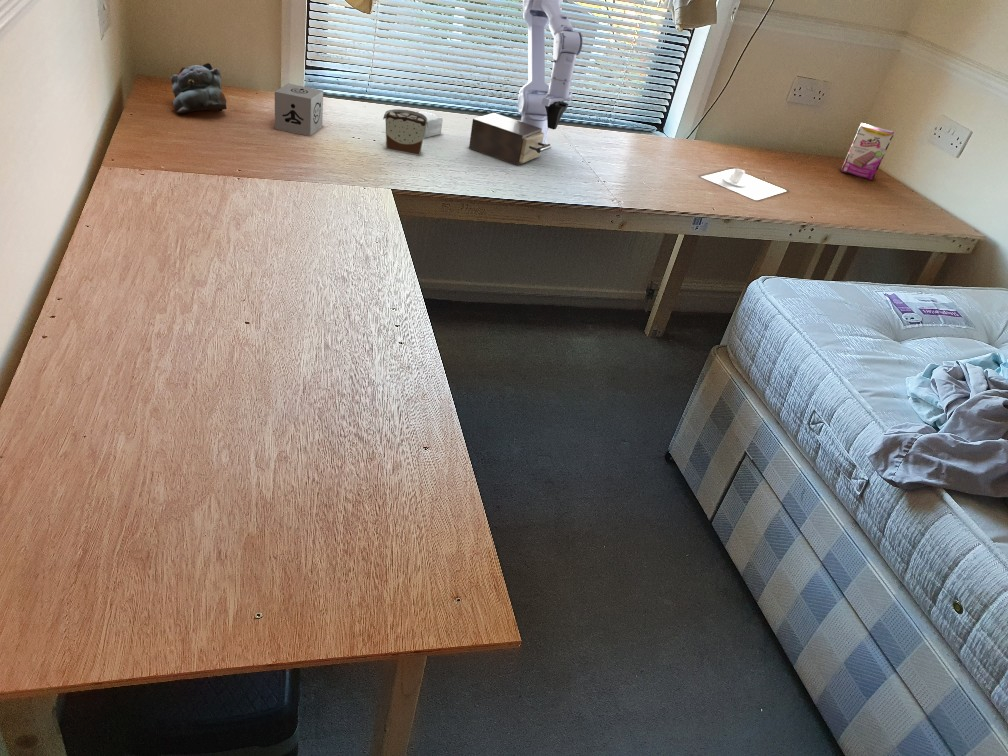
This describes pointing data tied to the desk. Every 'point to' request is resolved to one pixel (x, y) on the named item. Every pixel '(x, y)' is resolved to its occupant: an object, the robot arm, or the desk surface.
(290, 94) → the icon cube
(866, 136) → the candy bar box
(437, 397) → the desk surface
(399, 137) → the panettone cake
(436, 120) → the small box
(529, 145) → the drawer
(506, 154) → the cabinet
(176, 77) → the lucky cat figurine
